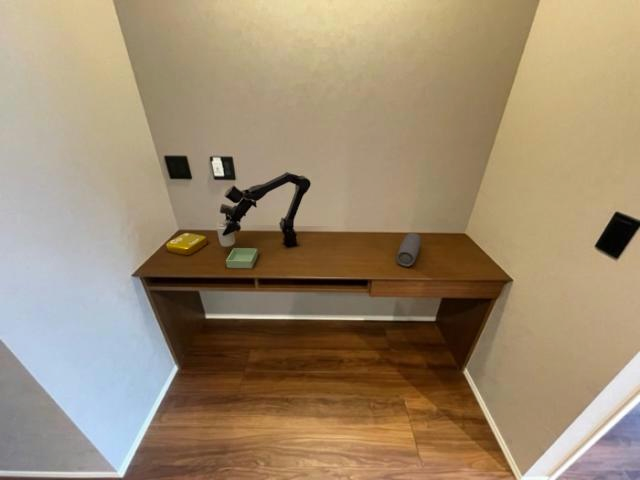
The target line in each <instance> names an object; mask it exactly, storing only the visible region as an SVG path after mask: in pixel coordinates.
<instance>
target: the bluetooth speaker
mask: <svg viewBox="0 0 640 480" xmlns="http://www.w3.org/2000/svg"><path fill="white" fill-rule="evenodd" d="M421 239H422V238H421V236H420V235H419V234H418V233H417V232H408V233H407V234H406V235H405V236H404V238H403V240H402V242H401V244H400V246H399V249H398V251H397V254H396V261H397V263H398V264H399V265H401V266H403V267H411V266H412V265H414V263H415V262H416V259H417V257H418V254H419V252H420V249H421V244H422V240H421Z"/></svg>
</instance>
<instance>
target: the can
mask: <svg viewBox="0 0 640 480" xmlns="http://www.w3.org/2000/svg"><path fill="white" fill-rule="evenodd" d="M226 222H228V221H225V220H221V221H218V222H217V224H216V231H217V236H218V237H217V238H218V241H219V245H220V246H221V247H223V248H224V247H225V248H227V247H228V248H229V247H233V245H235V243H236V239H235V231H234V232H232V233H230V234H227V235H225V236H223V235H222V234H223V232H224V230H225V229H226V227H227V223H226Z"/></svg>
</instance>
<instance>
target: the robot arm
mask: <svg viewBox="0 0 640 480" xmlns="http://www.w3.org/2000/svg"><path fill="white" fill-rule="evenodd" d="M288 183H290V184H293V185H295V187H294V189H295V190H294V193H293V197H292V200H291V201H290V205H289V207H288V210H287V213H286V216H284V217H281V218H280V221H279V223H278V225H279V228H280V230H281V232H282V234H283V237H282V244H283V245H284V246H285V248H287V249H289V248H292V247H297V246H299V244H298V241H297V236H298V232H296V230H295V229H294V223H295V218H296V216H297V214H298V210H299V207H300V206H301V202H302V199H303V197H304V195H305V194H306V193H307V192H308V191H309V189H310V187H311V184H312V182H311V181H310V179H309V178H308V177H306V176H305V175H297V174H295V173H290V172H288V171H287V172H285V173H283V174H281V175H279V176H277V177H275V178H273V179H271V180H269V181H267V182H265V183H262V184H256V185H252V186H250V187H249V188H247V189H243V190H240V189H239V188H238V187H237V186H236V185H232V186H230V187H229V188H228V189H227V190H226V191H225V193H224V197H225V198H226V199H227V200H229V201H231V203H233V204H235V205H233V206H231V205H227V204H224V203H221V205H220V207H219V213H220V214H224V215H225V216H224V217H225V219H224V221H228V222H226V223H227V227H226V229H225V230H224V232H223V234H222V235H223V236H225V235H227V234H230V233H232V232H234V233H235V232H240V231H241V230H242V227H241V222H242V219H243V218H244V217H246V216H247V213H248V212H249V210H251V209H252V207H254V208H258V206H257V202H258V201H260V200H261V199H263V198H264V197H265V196H266V195H267V194H268V193H270V192H272V191H273V190H275V189H278V188H280V187H282V186H284V185H286V184H288Z"/></svg>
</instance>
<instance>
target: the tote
mask: <svg viewBox="0 0 640 480" xmlns="http://www.w3.org/2000/svg"><path fill="white" fill-rule="evenodd" d="M258 256H259V253H258V248H251V247H249V248H248V247H242V248H241V247H232V250H231V252H230V253H229V255H228V257H227V258H226V260H225V265H226V268H227V269H233V268H234V269H253V267H254V265H255V263H256V260H257V259H258Z"/></svg>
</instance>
